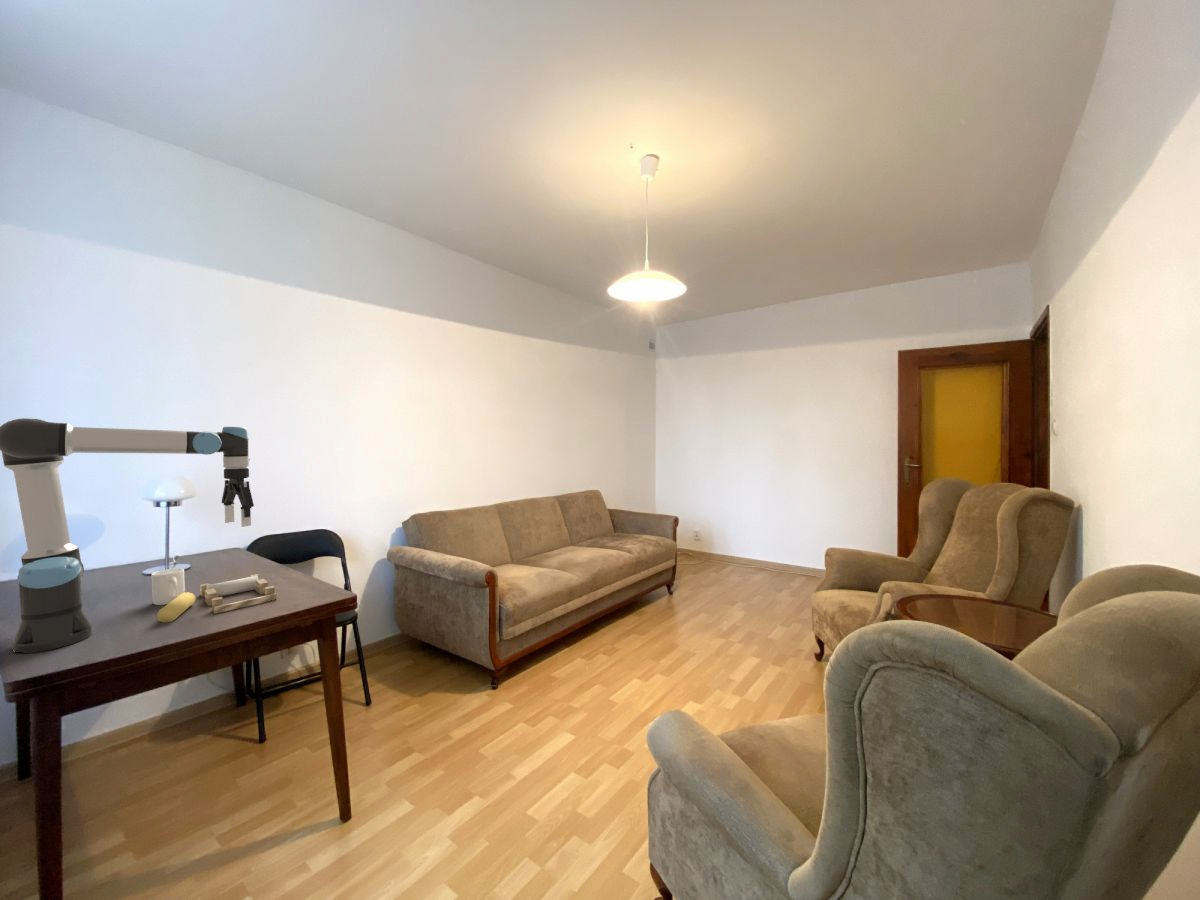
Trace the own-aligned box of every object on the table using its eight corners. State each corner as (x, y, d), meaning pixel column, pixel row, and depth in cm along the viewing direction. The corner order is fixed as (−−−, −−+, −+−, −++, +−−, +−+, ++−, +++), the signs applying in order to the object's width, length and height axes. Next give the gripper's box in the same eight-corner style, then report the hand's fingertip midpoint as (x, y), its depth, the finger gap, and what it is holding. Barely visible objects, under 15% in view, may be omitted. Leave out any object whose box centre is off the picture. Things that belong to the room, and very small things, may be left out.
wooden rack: (214, 613, 158) (214, 601, 157) (200, 594, 176) (199, 584, 175) (276, 599, 171) (276, 588, 170) (257, 583, 189) (256, 573, 188)
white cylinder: (209, 601, 171) (208, 587, 170) (206, 596, 174) (206, 583, 173) (259, 590, 182) (259, 577, 181) (255, 586, 185) (255, 573, 184)
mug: (160, 609, 162) (159, 578, 161) (149, 602, 168) (147, 572, 168) (192, 601, 169) (191, 571, 168) (180, 595, 175) (179, 566, 175)
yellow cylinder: (177, 621, 152) (176, 605, 152) (157, 624, 150) (156, 608, 150) (195, 605, 166) (194, 591, 165) (177, 607, 164) (176, 593, 163)
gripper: (263, 468, 174) (265, 525, 175) (233, 465, 187) (234, 519, 188) (240, 469, 167) (241, 529, 168) (209, 467, 180) (211, 522, 181)
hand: (237, 524), depth 178 cm, fingers open, 13 cm apart
